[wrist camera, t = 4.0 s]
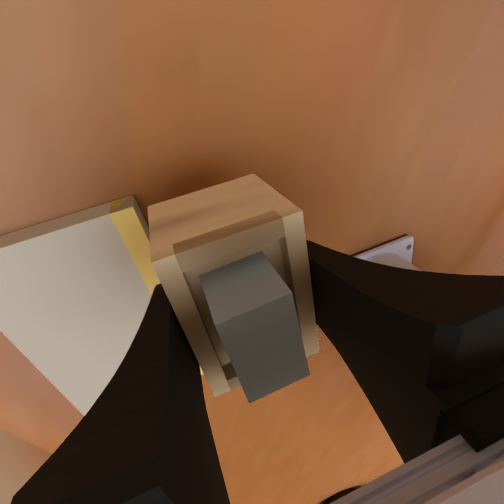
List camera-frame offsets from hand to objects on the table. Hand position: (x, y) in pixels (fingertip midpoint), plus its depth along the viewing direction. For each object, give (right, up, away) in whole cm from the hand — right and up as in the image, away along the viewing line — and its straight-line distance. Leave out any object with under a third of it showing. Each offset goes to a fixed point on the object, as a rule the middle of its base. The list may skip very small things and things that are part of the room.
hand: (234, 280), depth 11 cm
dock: (-9, -3, +8) cm, 13 cm away
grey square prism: (0, -1, -2) cm, 2 cm away
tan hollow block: (-1, +1, +1) cm, 2 cm away
